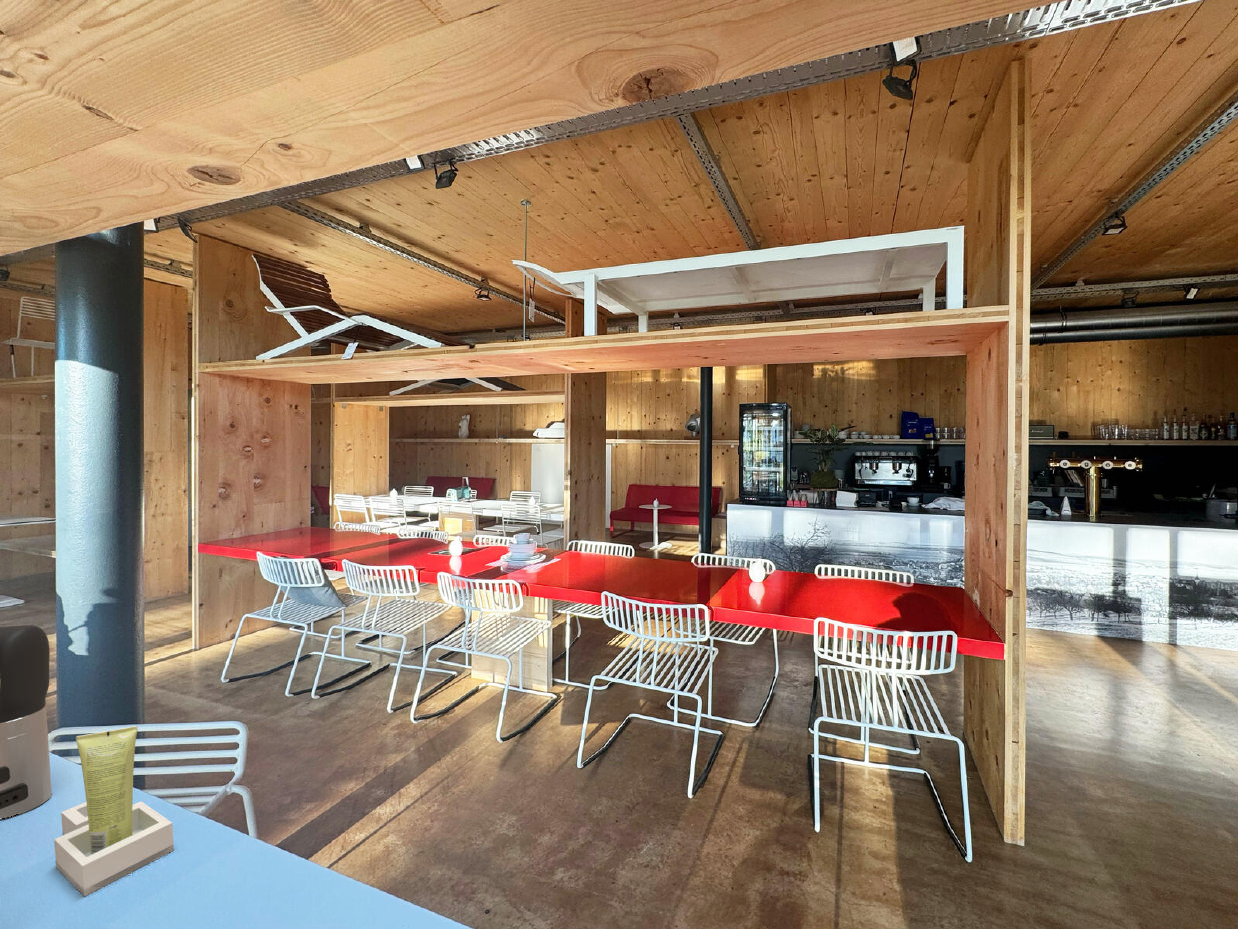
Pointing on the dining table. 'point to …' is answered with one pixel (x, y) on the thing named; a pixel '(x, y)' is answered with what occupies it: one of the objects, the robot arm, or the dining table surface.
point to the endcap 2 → (113, 851)
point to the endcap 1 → (74, 818)
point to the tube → (108, 784)
